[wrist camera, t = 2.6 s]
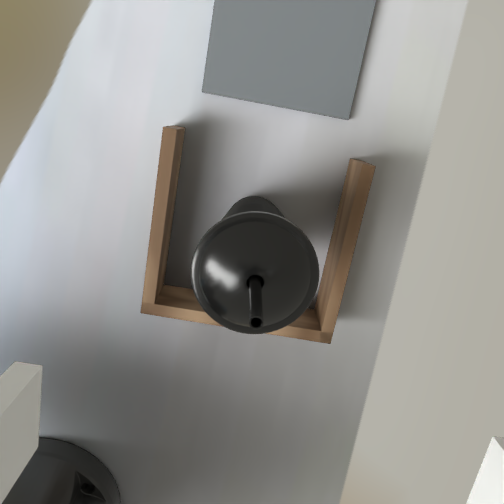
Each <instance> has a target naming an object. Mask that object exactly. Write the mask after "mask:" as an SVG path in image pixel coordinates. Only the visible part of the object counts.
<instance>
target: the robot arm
mask: <svg viewBox="0 0 504 504" xmlns="http://www.w3.org/2000/svg"><path fill="white" fill-rule="evenodd" d="M42 370H43V366H42V365H36V364H29V363H23V362H17V361H15V362H14V363H13V364H12V365H11V366H10V367H9V368H8V369H7V370H6V371H5V372H4V373H3V374H2V375H1V376H0V504H120V495H119V491H118V487H117V485H116V482H115V480H114V478H113V477H112V475H111V473H110V472H109V471H108V469H107V468H106V467H105V466H104V465H103V464H102V463H101V462H100V461H99V460H98V459H97V458H95V457H94V456H93V455H91V454H90V453H88V452H87V451H85V450H83V449H81V448H79V447H77V446H75V445H72V444H70V443H67V442H63V441H59V440H54V439H46V438H39V423H40V405H41V388H42ZM466 504H504V438H502V437H495V436H493V437H492V440H491V442H490V445H489V447H488V450H487V452H486V455H485V457H484V460H483V462H482V465H481V467H480V470H479V472H478V475H477V478H476V480H475V483H474V485H473V488H472V490H471V493H470V495H469V498H468V500H467V503H466Z"/></svg>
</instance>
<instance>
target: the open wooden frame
mask: <svg viewBox="0 0 504 504" xmlns="http://www.w3.org/2000/svg"><path fill="white" fill-rule="evenodd" d="M184 133H185V128H183V127H178V126H166V127H163V132H162V141H161V149H160V157H159V165H158V174H157V182H156V190H155V198H154V207H153V215H152V223H151V231H150V240H149V248H148V256H147V264H146V273H145V281H144V289H143V297H142V306H141V313H143V314H150V315H156V316H162V317H168V318H174V319H180V320H186V321H193V322H199V323H205V324H211V325H217V326H222V325H220V324H219V323H217V322H216V321H214V320H213V319H212V318H211V317H210V316H209V315H208V314H207V313H206V312H205V311H204V310H203V309H202V307H201V306H200V304H199V303H198V301H197V299H196V297H195V294H194V292H193V289H188V288H182V287H176V286H170V285H164V281H165V274H166V266H167V259H168V252H169V244H170V237H171V229H172V222H173V214H174V207H175V199H176V192H177V185H178V177H179V170H180V162H181V155H182V147H183V140H184ZM375 167H376V166H374V165H371V164H369V163H366V162H364V161H361V160H356V159H350V161H349V165H348V169H347V174H346V178H345V182H344V186H343V190H342V195H341V199H340V203H339V207H338V211H337V216H336V220H335V224H334V228H333V232H332V237H331V241H330V245H329V249H328V253H327V258H326V262H325V266H324V270H323V274H322V279H321V283H320V287H319V291H318V295H317V300H316V304H315V308H314V309H308V308H307V309H306V311H305V312H304V313H303V314H302V315H301V316H300V317H299V318H298V319H296V320H295V321H294V322H292V323H291V324H289V325H288V326H286V327H284V328H281V329H279V330H276V331H273V332H269V333H266V334H272V335H279V336H285V337H291V338H297V339H303V340H309V341H315V342H322V343H328V344H330V343H331V339H332V336H333V332H334V328H335V324H336V320H337V316H338V312H339V308H340V304H341V300H342V296H343V292H344V288H345V285H346V281H347V277H348V273H349V269H350V265H351V261H352V257H353V253H354V249H355V245H356V241H357V237H358V233H359V230H360V226H361V222H362V218H363V214H364V210H365V206H366V202H367V198H368V194H369V190H370V186H371V182H372V179H373V175H374V171H375ZM223 327H224V326H223Z"/></svg>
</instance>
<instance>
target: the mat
mask: <svg viewBox="0 0 504 504" xmlns="http://www.w3.org/2000/svg"><path fill="white" fill-rule="evenodd" d="M375 3H376V0H215V2H214V9H213V16H212V23H211V30H210V37H209V44H208V51H207V58H206V65H205V72H204V80H203V87H202V92H204V93H209V94H214V95H219V96H225V97H230V98H235V99H240V100H246V101H251V102H256V103H261V104H267V105H272V106H277V107H282V108H288V109H293V110H298V111H303V112H309V113H314V114H319V115H324V116H330V117H335V118H340V119H345V120H349V115H350V111H351V107H352V102H353V98H354V94H355V89H356V85H357V81H358V76H359V72H360V68H361V63H362V59H363V55H364V50H365V46H366V42H367V38H368V33H369V29H370V25H371V20H372V16H373V12H374V7H375Z"/></svg>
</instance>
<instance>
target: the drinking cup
mask: <svg viewBox="0 0 504 504" xmlns="http://www.w3.org/2000/svg"><path fill="white" fill-rule="evenodd" d="M318 282H319V264H318V259H317V256H316V252H315V250H314V248H313V246H312V244H311V242H310V240H309V239H308V238H307V236H306V235H305V234H304V233H303V231H302V230H301V229H299V228H298V227H297V226H296V225H295V224H293V223H292V222H290V221H289V220H287V219H286V218H285V217H284V216H283V215H282V214H281V213H280V211H279V210H278V209H277V208H276V207H275V206H274V205H273V204H272V203H271V202H270V201H268V200H266V199H264V198H261V197H247V198H244V199H241V200H239V201H238V202H237V203H235V204H234V205H233V206H232V208H231V209H230V210H229V211H228V213H227V214H226V215H225V216H224V218H223V219H222V220H221V221H220V222H218V223H217V224H215V225H214V226H213V227H212V228H210V229H209V230H208V231H207V233H206V234H205V235H204V236H203V237H202V239H201V240H200V242H199V244H198V245H197V248H196V250H195V252H194V255H193V258H192V263H191V284H192V288H193V292H194V294H195V297H196V299H197V301H198V303H199V304H200V306H201V307H202V309H203V310H204V311H205V312H206V313H207V314H208V315H209V316H210V317H211V318H212V319H213V320H214V321H216V322H217V323H219V324H220V325H222V326H224V327H226V328H228V329H230V330H233V331H236V332H240V333H246V334H263V333H269V332H273V331H276V330H279V329H281V328H284V327H286V326H288V325H289V324H291V323H292V322H294V321H295V320H296V319H298V318H299V317H300V316H301V315H302V314H303V313H304V312H305V311H306V309H307V308H308V307H309V305H310V304H311V302H312V300H313V298H314V296H315V293H316V290H317V287H318Z"/></svg>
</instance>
